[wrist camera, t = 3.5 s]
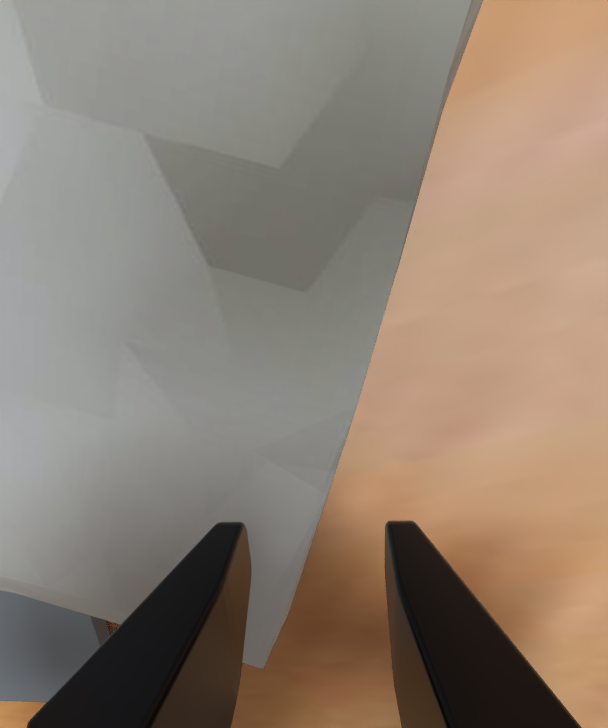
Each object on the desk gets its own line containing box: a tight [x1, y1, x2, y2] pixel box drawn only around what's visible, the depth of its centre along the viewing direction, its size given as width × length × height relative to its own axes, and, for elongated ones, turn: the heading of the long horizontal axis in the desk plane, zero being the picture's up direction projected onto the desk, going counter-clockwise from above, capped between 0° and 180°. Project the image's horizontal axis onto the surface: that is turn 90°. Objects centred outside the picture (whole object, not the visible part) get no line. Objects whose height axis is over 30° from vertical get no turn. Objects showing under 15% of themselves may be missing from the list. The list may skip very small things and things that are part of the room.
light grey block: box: [0, 0, 483, 669], centre depth 12 cm, size 18×5×10 cm
